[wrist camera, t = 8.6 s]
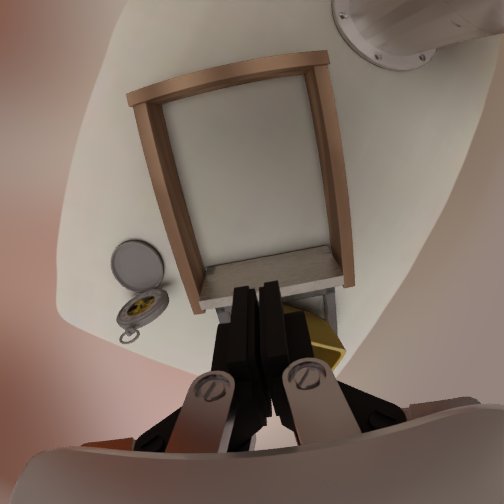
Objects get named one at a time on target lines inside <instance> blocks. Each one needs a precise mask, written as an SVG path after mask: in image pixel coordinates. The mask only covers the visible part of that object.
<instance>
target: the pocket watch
mask: <svg viewBox="0 0 504 504" xmlns="http://www.w3.org/2000/svg"><path fill="white" fill-rule="evenodd" d="M111 269H112V273H113V274H114V276H115V278H116V279H117V281H118V282H119V283H120V284H121V285H122V286H123V287H125V288H126V289H128V290H131V291H133V292H139V293H141V294H139V295H137V296H136V297H134V298H133V299H131V300H130V301H129V302H128V303H126V304H125V305H124V306H123V307H122V309H121V310H120V312H119V314H118V316H117V319H116V320H117V323H118V324H119V326H120V327H122V328H123V329H125V333H123V334H122V335H121V336H120V342H121V343H122V344H129V343H132V342H134V341H135V340H136V339H137V338H138V337H139V335H140V333H139V331H138V330H136V329H138V328H140V327H143V326H145V325H147V324H149V323H150V322H152V321H153V320H155V319H156V318H157V317H158V316H159V315H161V314H162V313H163V311H164V310H165V309H166V307H167V306H168V303H169V297H168V294H167V292H166V291H165V290H163V289H157V288H156V287H157V286H158V285H159V284H160V282H161V280H162V277H163V273H164V269H163V263H162V260H161V258H160V256H159V255H158V253H157V252H156V251H155V250H154V249H153V248H152V247H150V246H149V245H147V244H145V243H143V242H139V241H127V242H125V243H122V244H121V245H119V246H118V247H117V248H116V249H115V251H114V252H113V254H112V257H111ZM149 303H150V304H149ZM147 304H148V305H147ZM151 304H152V305H151ZM136 311H137V312H136ZM136 313H137V314H136ZM135 332H137V336H136V337H135V338H134V339H133V340H131V341H129V342H123V341H122V338H123V336H124V335H125V334H127V336H131V334H133V333H135Z"/></svg>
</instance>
